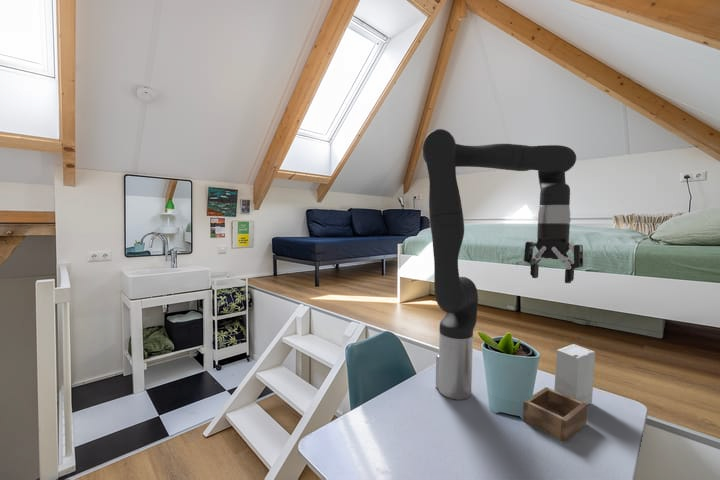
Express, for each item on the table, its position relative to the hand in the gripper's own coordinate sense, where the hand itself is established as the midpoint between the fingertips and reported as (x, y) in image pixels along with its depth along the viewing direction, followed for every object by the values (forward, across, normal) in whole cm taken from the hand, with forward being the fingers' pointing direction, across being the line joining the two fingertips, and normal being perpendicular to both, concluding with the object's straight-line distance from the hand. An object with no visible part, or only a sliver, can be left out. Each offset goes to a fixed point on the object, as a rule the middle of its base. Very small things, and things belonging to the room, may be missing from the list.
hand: (550, 280), depth 87 cm
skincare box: (+33, +6, +2) cm, 34 cm away
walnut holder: (+33, +7, -11) cm, 36 cm away
